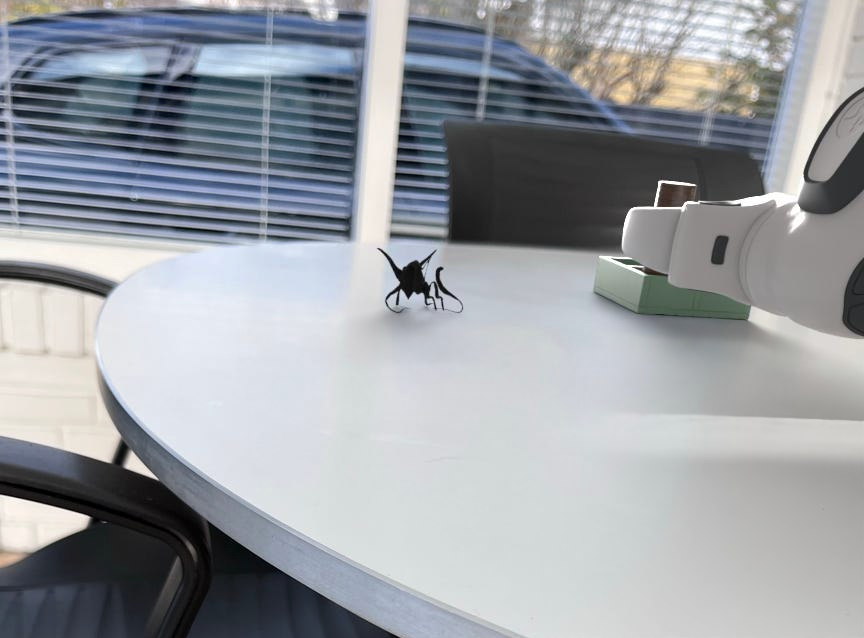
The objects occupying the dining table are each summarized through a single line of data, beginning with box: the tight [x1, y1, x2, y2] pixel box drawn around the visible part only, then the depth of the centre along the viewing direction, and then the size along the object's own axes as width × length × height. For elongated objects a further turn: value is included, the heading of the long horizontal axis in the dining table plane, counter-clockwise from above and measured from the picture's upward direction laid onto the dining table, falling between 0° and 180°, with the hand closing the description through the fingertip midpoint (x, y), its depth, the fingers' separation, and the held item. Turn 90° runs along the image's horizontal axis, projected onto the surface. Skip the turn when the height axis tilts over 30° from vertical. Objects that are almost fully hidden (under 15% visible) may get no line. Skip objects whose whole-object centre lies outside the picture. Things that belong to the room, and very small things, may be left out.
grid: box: [592, 255, 753, 321], centre depth 110 cm, size 12×12×4 cm
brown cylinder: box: [642, 180, 698, 276], centre depth 104 cm, size 4×4×11 cm
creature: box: [376, 247, 464, 314], centre depth 95 cm, size 8×5×8 cm
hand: (702, 230), depth 98 cm, fingers open, 8 cm apart
